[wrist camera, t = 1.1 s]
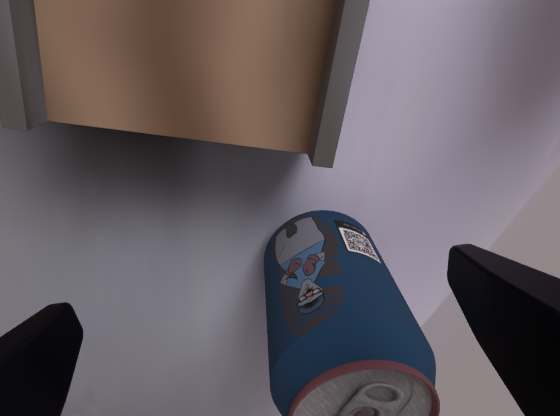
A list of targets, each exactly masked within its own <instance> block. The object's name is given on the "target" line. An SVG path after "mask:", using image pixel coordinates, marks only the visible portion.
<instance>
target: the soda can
mask: <svg viewBox="0 0 560 416" xmlns="http://www.w3.org/2000/svg"><path fill="white" fill-rule="evenodd" d="M264 274H265V294H266V314H267V334H268V354H269V374H270V391H271V395H272V398H273V401H274V403H275V405H276V407H277V409H278V410H279V412H280V413H281V415H282V416H439V411H440V402H439V397H438V394H437V392H436V390H435V374H436V364H435V357H434V354H433V351H432V349H431V347H430V345H429V343H428V341H427V339H426V338H425V336H424V334H423V332H422V330H421V328H420V327H419V325H418V323H417V321H416V319H415V318H414V316H413V314H412V312H411V310H410V308H409V307H408V305H407V303H406V301H405V299H404V297H403V296H402V294H401V292H400V290H399V288H398V287H397V285H396V283H395V281H394V279H393V277H392V276H391V274H390V272H389V270H388V268H387V266H386V265H385V263H384V261H383V259H382V257H381V256H380V254H379V252H378V250H377V248H376V246H375V245H374V243H373V241H372V239H371V237H370V235H369V234H368V232H367V231H366V229H365V228H364V227H363V226H362V225H361V224H360V223H359V222H357V221H356V220H355V219H353V218H351V217H349V216H347V215H345V214H342V213H339V212H335V211H326V210H319V211H311V212H307V213H303V214H300V215H298V216H296V217H294V218H292V219H290V220H289V221H287V222H286V223H284V224H283V225H282V226H281V227H280V228H279V229H278V230H277V231H276V232H275V233H274V235H273V236H272V237H271V239H270V241H269V243H268V245H267V247H266V251H265V255H264Z"/></svg>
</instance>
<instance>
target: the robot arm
mask: <svg viewBox="0 0 560 416" xmlns="http://www.w3.org/2000/svg"><path fill="white" fill-rule="evenodd" d="M447 278H448V282H449V285H450V287H451V289H452V291H453V293H454V295H455V297H456V299H457V301H458V303H459V305H460V307H461V309H462V311H463V313H464V315H465V318H466V320H467V322H468V324H469V326H470V328H471V330H472V332H473V334H474V335H475V337H476V339H477V341H478V342H479V344H480V346H481V348H482V349H483V351H484V352H485V354H486V356H487V357H488V359H489V360H490V362H491V363H492V365H493V367H494V368H495V370H496V371H497V373H498V374H499V376H500V378H501V379H502V381H503V382H504V384H505V385H506V387H507V388H508V390H509V391H510V393H511V395H512V396H513V398H514V399H515V401H516V403H517V404H518V406H519V407H520V409H521V410H522V412H523V413H524V415H525V416H560V279H559V278H557V277H554V276H552V275H549V274H546V273H544V272H541V271H539V270H536V269H534V268H531V267H528V266H526V265H523V264H521V263H518V262H515V261H513V260H510V259H508V258H505V257H503V256H500V255H497V254H495V253H492V252H490V251H487V250H484V249H482V248H479V247H477V246H474V245H472V244H462V245H455V246H452V247H451V248H450V251H449V260H448V271H447ZM82 340H83V329H82V326H81V324H80V322H79V320H78V318H77V316H76V313H75V311H74V309H73V307H72V306H71V305H70V304H69V303H67V302H64V303H57V304H51V305H48V306H46V307H45V308H43V309H42V310H40V311H39V312H37V313H36V314H34V315H33V316H31V317H30V318H28V319H27V320H25V321H24V322H22V323H21V324H19V325H18V326H16V327H15V328H13V329H12V330H10V331H9V332H7V333H6V334H4V335H3V336H1V337H0V416H61V413H62V410H63V407H64V405H65V402H66V398H67V395H68V392H69V388H70V385H71V381H72V377H73V374H74V370H75V366H76V362H77V359H78V355H79V351H80V348H81V344H82Z"/></svg>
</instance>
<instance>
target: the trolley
mask: <svg viewBox="0 0 560 416" xmlns="http://www.w3.org/2000/svg"><path fill="white" fill-rule="evenodd" d="M369 1H370V0H0V114H1V119H2V125H3V128H10V129H18V130H26V131H27V130H30V129H32V128H34V127H36V126H38V125H40V124H42V123H44V122H47V121H53V122H61V123H69V124H76V125H84V126H92V127H100V128H108V129H116V130H124V131H131V132H139V133H147V134H155V135H163V136H171V137H179V138H187V139H194V140H202V141H210V142H218V143H226V144H234V145H242V146H250V147H257V148H265V149H273V150H281V151H289V152H297V153H305V154H308V157H309V159H310V161H311V164H312V166H318V167H326V168H332V167H333V162H334V158H335V153H336V149H337V145H338V140H339V136H340V131H341V127H342V122H343V118H344V113H345V109H346V104H347V100H348V95H349V91H350V86H351V82H352V77H353V73H354V68H355V64H356V60H357V55H358V51H359V46H360V42H361V37H362V33H363V28H364V24H365V19H366V15H367V10H368V6H369Z"/></svg>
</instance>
